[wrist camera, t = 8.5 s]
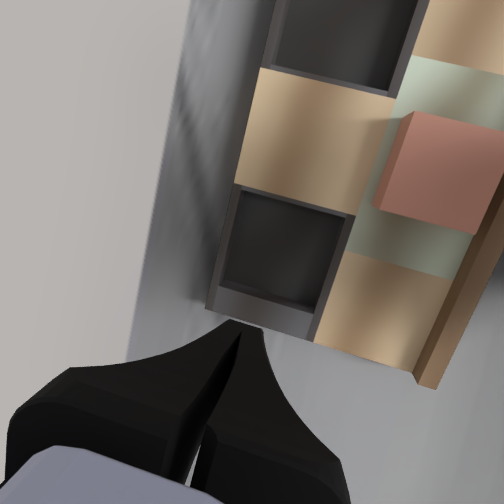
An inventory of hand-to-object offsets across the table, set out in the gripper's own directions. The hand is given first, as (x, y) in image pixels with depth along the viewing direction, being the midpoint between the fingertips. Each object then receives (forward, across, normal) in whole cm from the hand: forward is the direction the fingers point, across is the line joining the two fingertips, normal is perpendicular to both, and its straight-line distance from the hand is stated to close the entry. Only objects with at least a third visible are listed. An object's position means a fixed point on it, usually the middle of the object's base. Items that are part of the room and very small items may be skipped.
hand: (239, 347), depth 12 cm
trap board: (+9, -4, -8) cm, 13 cm away
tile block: (+8, -7, -8) cm, 13 cm away
